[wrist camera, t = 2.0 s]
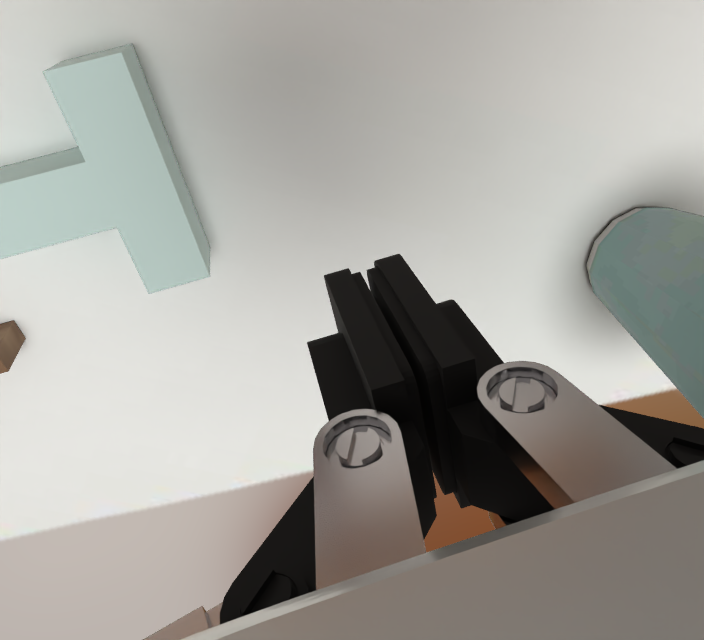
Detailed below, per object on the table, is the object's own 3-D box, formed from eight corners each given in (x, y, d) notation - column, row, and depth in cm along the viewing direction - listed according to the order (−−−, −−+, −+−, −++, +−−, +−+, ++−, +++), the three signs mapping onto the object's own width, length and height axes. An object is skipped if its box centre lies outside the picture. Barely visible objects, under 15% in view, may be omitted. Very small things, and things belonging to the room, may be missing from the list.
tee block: (-103, 101, 23) (-148, 118, 20) (132, 43, 24) (121, 52, 21) (22, 299, 28) (1, 335, 26) (210, 247, 29) (209, 276, 26)
